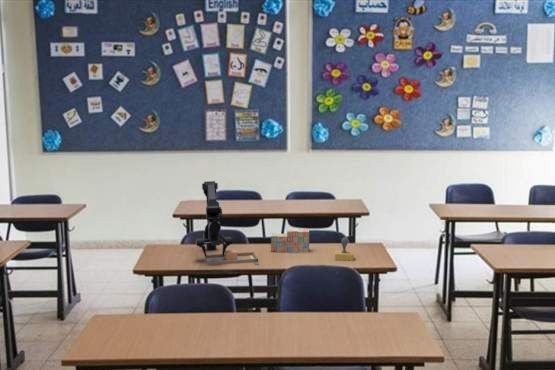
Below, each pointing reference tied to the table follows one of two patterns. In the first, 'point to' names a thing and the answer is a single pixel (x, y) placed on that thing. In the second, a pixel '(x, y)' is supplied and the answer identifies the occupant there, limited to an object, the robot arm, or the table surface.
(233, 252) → the terracotta block
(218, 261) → the box
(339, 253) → the rubber stamp
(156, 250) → the table surface
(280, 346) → the table surface
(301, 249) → the stack of blocks
